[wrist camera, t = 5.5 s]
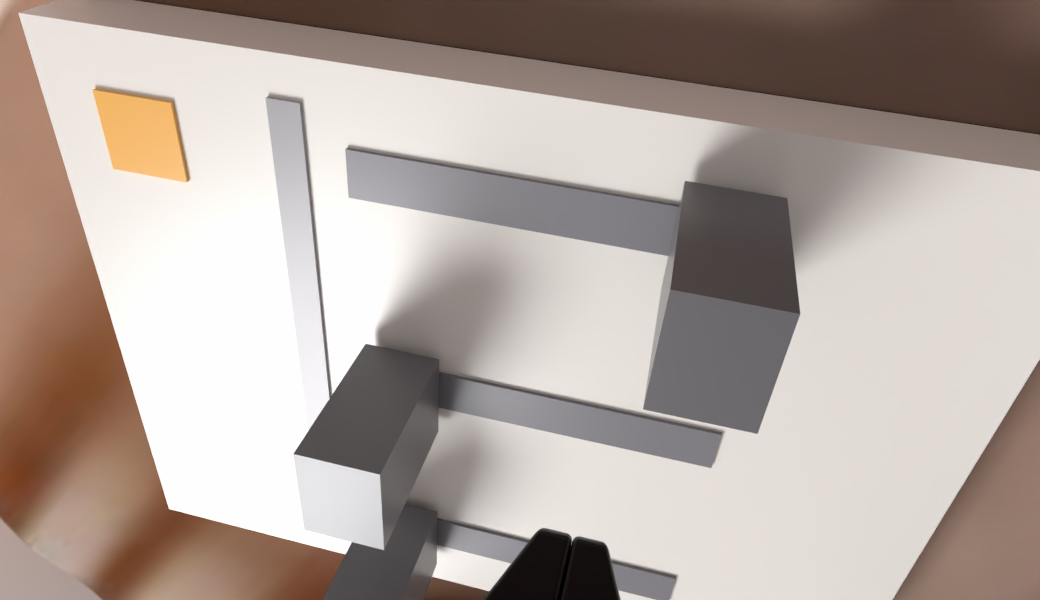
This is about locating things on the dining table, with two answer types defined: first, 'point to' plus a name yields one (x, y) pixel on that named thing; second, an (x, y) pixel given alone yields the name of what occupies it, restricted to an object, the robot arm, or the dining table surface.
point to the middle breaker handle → (368, 446)
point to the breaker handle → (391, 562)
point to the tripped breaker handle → (724, 308)
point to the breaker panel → (539, 291)
